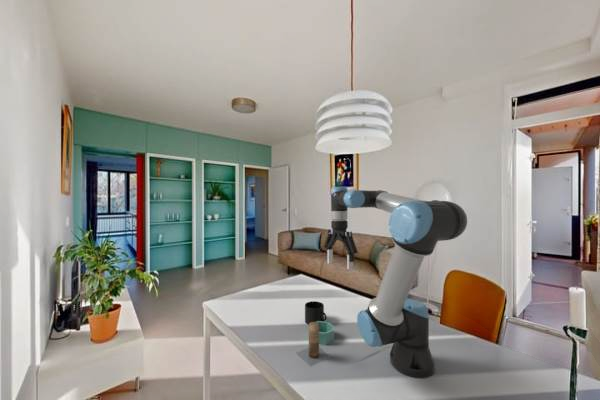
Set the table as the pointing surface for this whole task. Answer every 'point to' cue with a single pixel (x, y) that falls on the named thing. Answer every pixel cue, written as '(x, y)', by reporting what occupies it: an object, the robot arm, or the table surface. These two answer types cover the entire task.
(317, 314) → the mug
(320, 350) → the coaster
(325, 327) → the teal octagonal bowl
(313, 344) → the dowel
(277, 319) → the table surface
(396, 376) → the table surface
